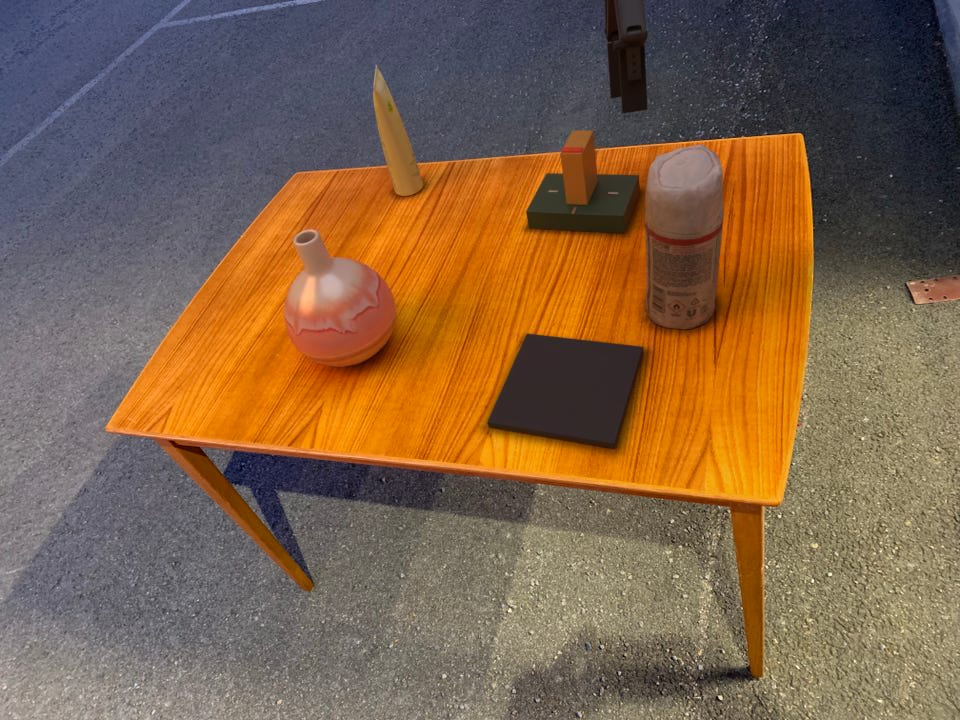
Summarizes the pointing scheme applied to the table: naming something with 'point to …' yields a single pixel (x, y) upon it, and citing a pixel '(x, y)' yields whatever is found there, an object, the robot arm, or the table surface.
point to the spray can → (683, 236)
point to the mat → (568, 390)
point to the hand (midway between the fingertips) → (627, 103)
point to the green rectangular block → (600, 215)
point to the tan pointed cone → (395, 141)
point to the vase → (337, 306)
